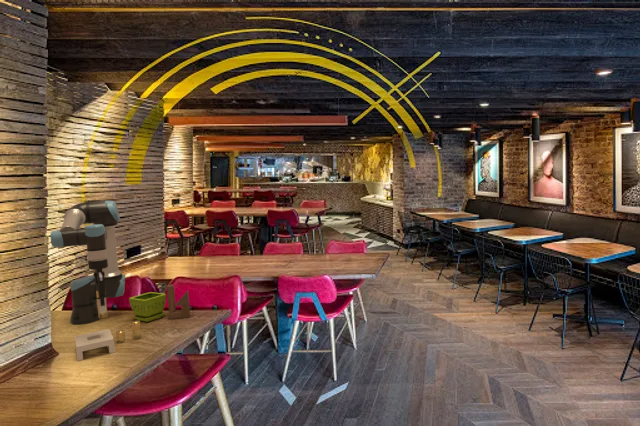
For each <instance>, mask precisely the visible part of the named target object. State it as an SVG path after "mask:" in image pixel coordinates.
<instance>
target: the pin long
mask: <svg viewBox="0 0 640 426" xmlns="http://www.w3.org/2000/svg"><path fill="white" fill-rule="evenodd" d="M105 294H106V292H105ZM96 295H97V298H98V297H99V295H98V290H97V291H96ZM105 299H106V300H107V298H106V297H105ZM107 305H108V304H107V302H106V310H107V312H105V313H100V311H99V301H98V299H97V306H98V316H99V318H101V319H104V318H105V319H106V318H108V306H107Z"/></svg>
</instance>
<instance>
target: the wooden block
mask: <svg viewBox="0 0 640 426" xmlns="http://www.w3.org/2000/svg"><path fill="white" fill-rule="evenodd" d="M174 285H175V284H168V285H167V286H166V292H167V293H166V294H167V295H166V296H167V303H168V304H167V305H168V312H167V317H168V320H178V319H189V318H190V317H191V309H190V298H189V297H190V295H189V290H187V291H186V292H185V293H184V294H183V295H182V296H181V298H180V299H179V300H178V301H177V302H176V297H175V296H176V294H175V286H174ZM177 306H179V307H181V308H180V309H181V310H180V309H176V308H177Z"/></svg>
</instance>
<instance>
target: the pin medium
mask: <svg viewBox="0 0 640 426" xmlns="http://www.w3.org/2000/svg"><path fill="white" fill-rule="evenodd" d="M131 329H132V339H133V340H134V339H137V340H140V339H142V328H141V320H137V319H135V320H132V321H131Z"/></svg>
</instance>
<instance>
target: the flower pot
mask: <svg viewBox="0 0 640 426" xmlns="http://www.w3.org/2000/svg"><path fill="white" fill-rule="evenodd" d="M166 294H167V293H162V292H161V293H160V292H156V291H155V292H152V291H150V292H146V293H142V294H138V295H134V296H132V297H129V299H128V301H129V305H130V308H131V309H132V312H133V314H134V315H133V319H135V320H139V321H140V322H147V323H148V322H152V321H155V320H157V319H161V318H163V317H164V316H165V315H166V312H164V309H165V306H166V302H167V295H166Z"/></svg>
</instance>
